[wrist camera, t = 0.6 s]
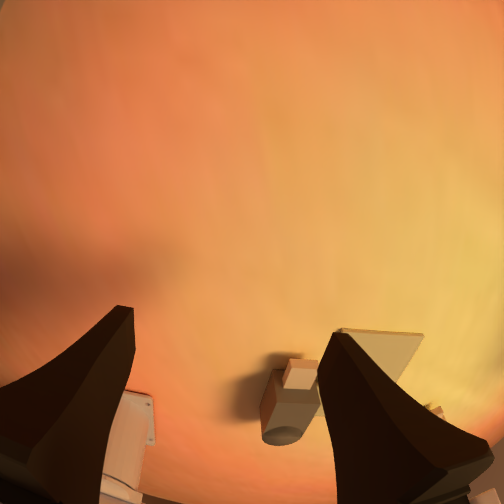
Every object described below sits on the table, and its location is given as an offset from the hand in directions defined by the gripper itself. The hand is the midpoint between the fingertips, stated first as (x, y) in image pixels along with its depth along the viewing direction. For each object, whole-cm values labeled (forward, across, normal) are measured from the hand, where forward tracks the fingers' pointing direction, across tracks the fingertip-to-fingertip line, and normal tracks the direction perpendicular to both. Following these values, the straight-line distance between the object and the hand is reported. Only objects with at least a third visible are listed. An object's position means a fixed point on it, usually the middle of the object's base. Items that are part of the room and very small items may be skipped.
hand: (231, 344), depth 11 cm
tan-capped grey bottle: (+10, -7, +14) cm, 18 cm away
